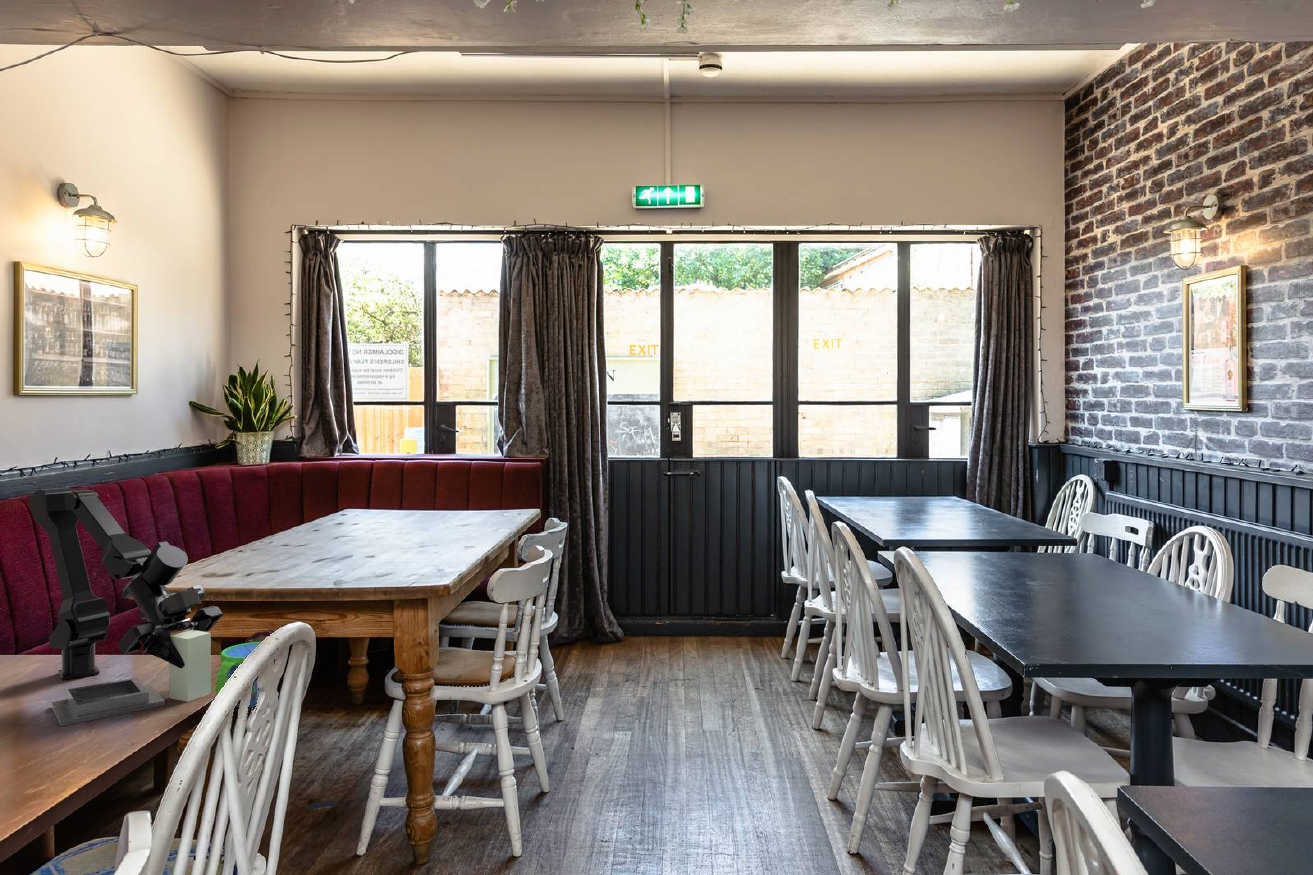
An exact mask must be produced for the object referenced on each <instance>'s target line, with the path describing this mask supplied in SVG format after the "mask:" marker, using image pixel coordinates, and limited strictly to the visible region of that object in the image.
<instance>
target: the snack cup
mask: <svg viewBox="0 0 1313 875" xmlns="http://www.w3.org/2000/svg"><path fill="white" fill-rule="evenodd" d="M260 643H261V642H251V643H246V642H245V643H240V644H237V645H232V646H228V647H226V648H225V649H223V650H221V653H220V655H219V656H220V660H221V665H220V667H219V671H218V674H217V676H216V677H217V678H216V685H215V692H216V695H217V694H218V692H219V691H220V689H221V688H222V687H224V685H225V682H226V681H227V680H228V679H229V678H230V677H231V675H232V674H233V673H234V671H235V670H236V668H238V666H239V665H240V664H242V663H243V661H244V659H245V657H246V656H247V655H249V654H250V653H251V652H252V650H254V649H255V648H256V647H257V646H258V645H259V644H260ZM226 683H227V682H226ZM258 697H259V690H258V688H257V680H256V681H255V682H254V686H253V688H252V694H251V700H250V705H249V707H248V708H255V705H256V704H257V700H258ZM238 705H239V704H238ZM238 705H236V706H235V707H236V708H239V707H238Z"/></svg>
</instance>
